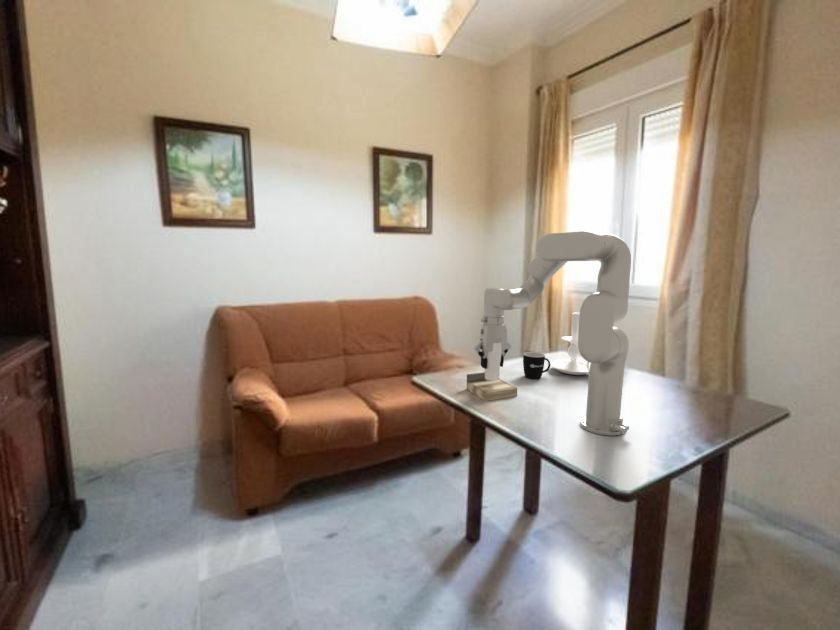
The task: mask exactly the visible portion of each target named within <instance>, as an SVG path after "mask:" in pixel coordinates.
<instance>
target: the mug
mask: <svg viewBox="0 0 840 630" xmlns="http://www.w3.org/2000/svg"><path fill="white" fill-rule="evenodd" d="M545 356H546V355H545V354H544V353H541V352H533V351H528V352H524V353H523V354H522V362H523V363H522V364H523V367H522V368H523V374H524V376H525V378H527V379H530V380H539V379H541V378H542V376H543V374H544V373H546V372H549V369H550V367H551V366H550V362H551V361H550V360H549V359H548V358H546V357H545ZM545 361H546V362H547V364H548V365H547V368H546V369H544V367H545Z"/></svg>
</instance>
